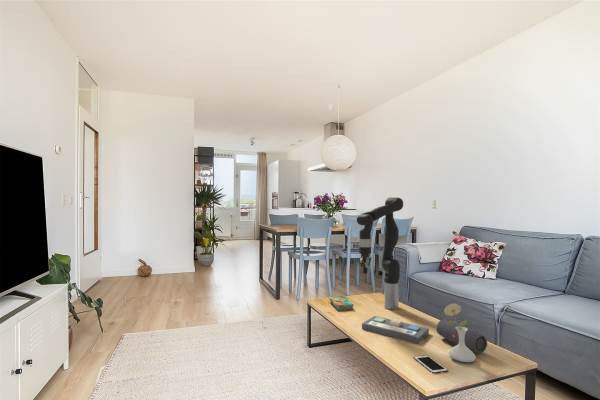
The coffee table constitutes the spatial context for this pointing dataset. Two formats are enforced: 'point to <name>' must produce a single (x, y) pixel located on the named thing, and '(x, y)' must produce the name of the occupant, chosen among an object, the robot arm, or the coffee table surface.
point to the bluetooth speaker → (472, 338)
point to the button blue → (413, 328)
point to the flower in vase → (460, 350)
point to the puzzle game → (341, 302)
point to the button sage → (379, 320)
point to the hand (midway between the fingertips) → (365, 273)
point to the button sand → (396, 323)
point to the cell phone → (430, 364)
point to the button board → (396, 330)
